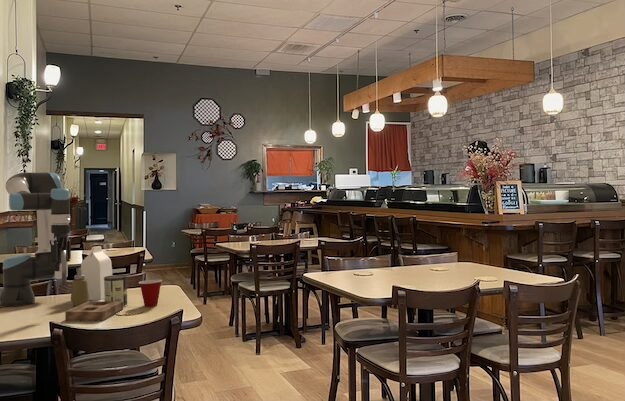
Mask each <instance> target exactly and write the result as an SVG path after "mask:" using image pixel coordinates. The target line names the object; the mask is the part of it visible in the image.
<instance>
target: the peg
mask: <svg viewBox="0 0 625 401" xmlns="http://www.w3.org/2000/svg"><path fill="white" fill-rule="evenodd" d="M60 263H62V279H55V282H56V286H59V287H60V286H66V285H67V279H68V278H67V277H66V250H62V252H61V262H60Z"/></svg>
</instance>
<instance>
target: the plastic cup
mask: <svg viewBox="0 0 625 401" xmlns="http://www.w3.org/2000/svg"><path fill="white" fill-rule="evenodd" d="M162 281H163V279H148V280H142V281H139V282H138V284H139V286H140V291H141V295H142V299H143V300H142V301H143V304H144V307H147V308H151V307H156V306H158V303H159V296H160V290H161V285H162Z"/></svg>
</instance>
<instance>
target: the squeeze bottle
mask: <svg viewBox="0 0 625 401" xmlns="http://www.w3.org/2000/svg"><path fill="white" fill-rule="evenodd" d="M88 299H89V292H88V284H87V280H86V279H85V275H83V274H82V270H81V267H78V268H77V272H76V274H75V275H74V279H73V280H72V282H71V291H70V301H71V303H72V306H73V307H77V306H79V305H81V304H84V303H86V302H88V301H89V300H88Z"/></svg>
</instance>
